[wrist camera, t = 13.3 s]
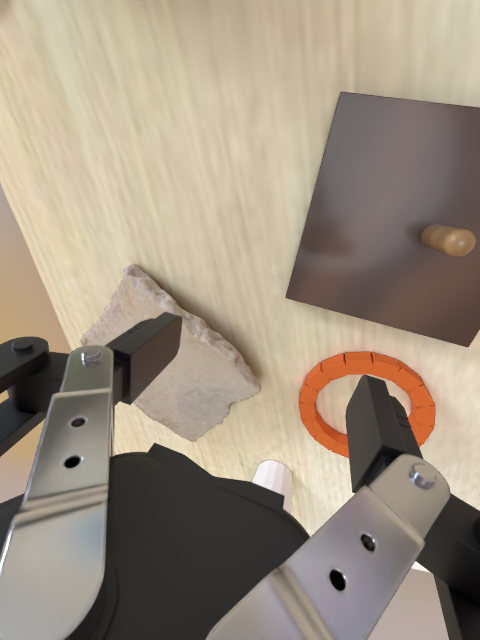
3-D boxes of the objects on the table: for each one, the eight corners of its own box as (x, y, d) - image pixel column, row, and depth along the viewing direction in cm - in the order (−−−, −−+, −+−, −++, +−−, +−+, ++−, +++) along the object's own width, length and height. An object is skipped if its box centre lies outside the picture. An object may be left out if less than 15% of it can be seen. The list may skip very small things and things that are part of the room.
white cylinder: (249, 456, 44) (236, 496, 38) (291, 457, 42) (284, 501, 36) (259, 487, 46) (248, 530, 40) (300, 490, 44) (295, 537, 38)
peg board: (287, 295, 32) (275, 319, 26) (340, 96, 24) (343, 54, 17) (463, 342, 29) (504, 385, 22) (596, 126, 20) (728, 88, 14)
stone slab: (149, 241, 36) (84, 337, 44) (113, 246, 29) (43, 359, 37) (282, 364, 38) (197, 435, 46) (278, 396, 31) (179, 473, 39)
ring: (288, 425, 40) (287, 435, 38) (319, 336, 33) (319, 343, 31) (398, 465, 37) (401, 477, 35) (455, 375, 30) (462, 385, 28)
